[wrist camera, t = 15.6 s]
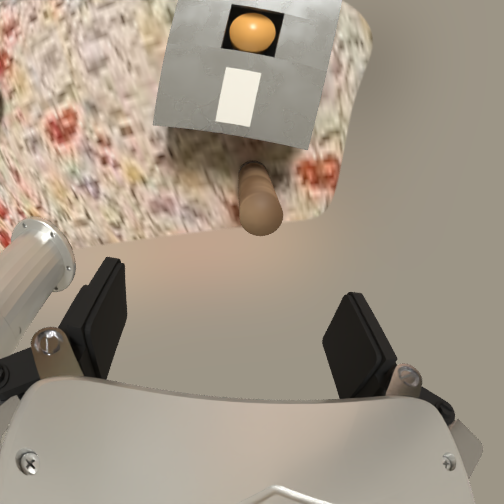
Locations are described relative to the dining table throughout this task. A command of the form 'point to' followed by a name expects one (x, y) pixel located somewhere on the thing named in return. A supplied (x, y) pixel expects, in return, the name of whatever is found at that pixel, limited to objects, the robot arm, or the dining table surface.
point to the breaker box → (247, 70)
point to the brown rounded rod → (258, 200)
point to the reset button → (252, 33)
